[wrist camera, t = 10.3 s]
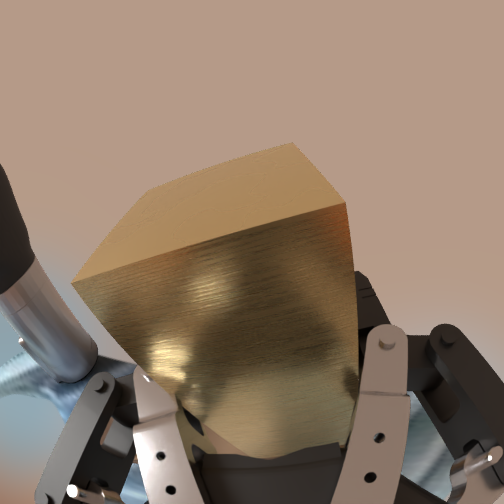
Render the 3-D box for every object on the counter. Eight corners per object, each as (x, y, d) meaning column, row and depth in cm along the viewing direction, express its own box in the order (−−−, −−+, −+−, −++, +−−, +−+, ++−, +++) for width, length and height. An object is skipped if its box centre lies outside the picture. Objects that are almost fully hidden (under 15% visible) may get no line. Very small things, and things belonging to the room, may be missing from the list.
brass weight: (336, 363, 14) (292, 142, 8) (354, 441, 10) (345, 202, 4) (252, 381, 15) (147, 190, 9) (253, 458, 10) (70, 283, 4)
